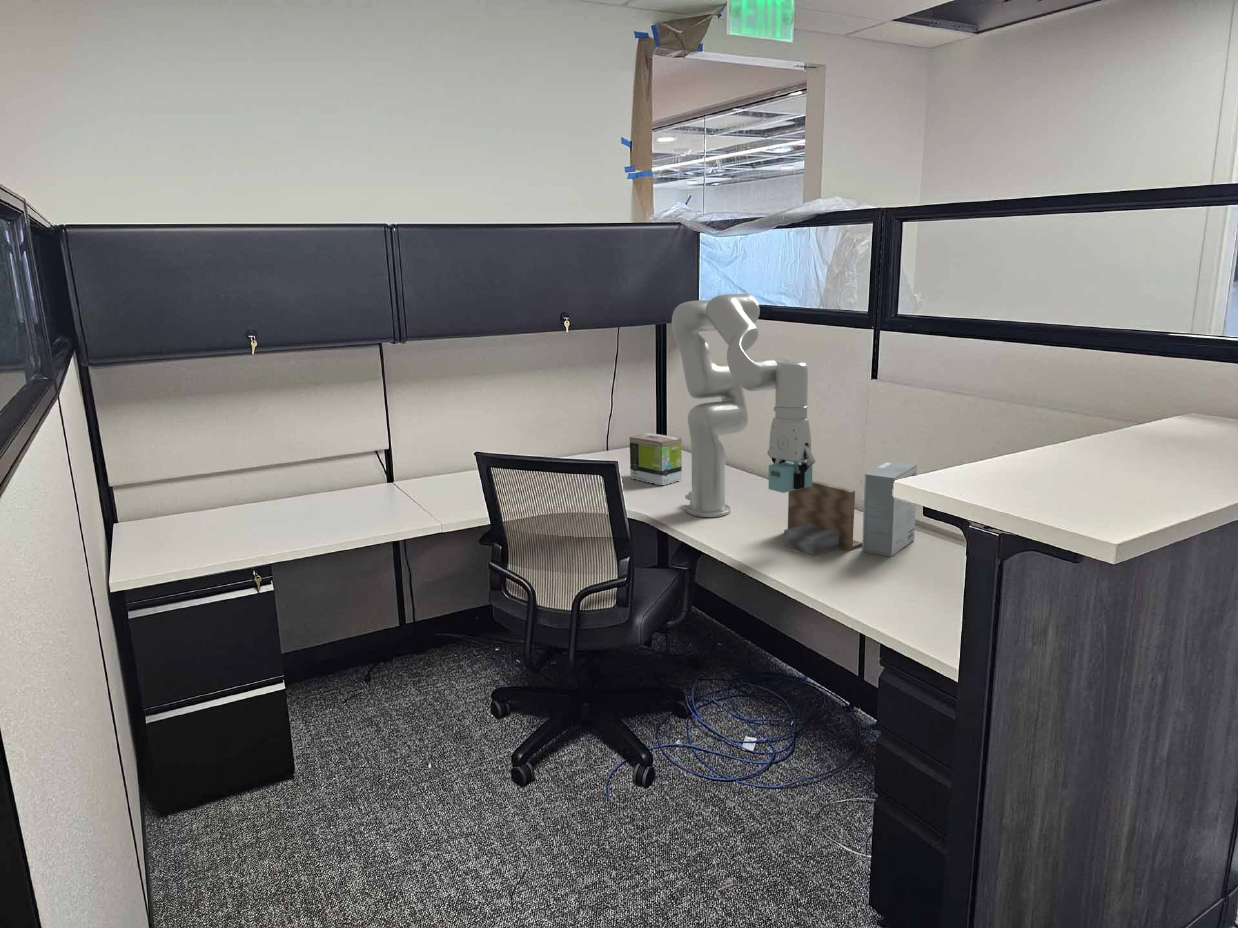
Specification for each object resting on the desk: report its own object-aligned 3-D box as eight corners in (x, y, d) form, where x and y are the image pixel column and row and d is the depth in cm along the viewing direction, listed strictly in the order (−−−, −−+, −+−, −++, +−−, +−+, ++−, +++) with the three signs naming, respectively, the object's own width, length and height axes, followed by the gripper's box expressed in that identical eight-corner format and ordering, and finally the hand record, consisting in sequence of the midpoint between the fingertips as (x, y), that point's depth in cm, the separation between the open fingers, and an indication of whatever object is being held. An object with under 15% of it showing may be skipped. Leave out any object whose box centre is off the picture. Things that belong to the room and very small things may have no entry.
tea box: (682, 481, 271) (682, 437, 268) (661, 487, 265) (661, 442, 261) (650, 473, 282) (649, 431, 279) (629, 479, 275) (628, 436, 272)
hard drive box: (885, 535, 213) (889, 460, 208) (914, 540, 208) (919, 464, 204) (860, 551, 201) (864, 473, 197) (891, 557, 197) (895, 477, 192)
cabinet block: (766, 489, 201) (766, 465, 200) (796, 482, 207) (797, 459, 206) (781, 493, 197) (782, 469, 196) (812, 485, 203) (812, 462, 202)
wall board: (763, 538, 213) (764, 482, 209) (801, 527, 221) (803, 473, 218) (824, 558, 197) (826, 498, 194) (862, 545, 205) (865, 488, 202)
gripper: (754, 411, 203) (754, 482, 207) (807, 419, 189) (806, 495, 193) (776, 407, 207) (776, 477, 211) (829, 415, 193) (827, 490, 197)
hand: (790, 485), depth 202 cm, fingers closed on cabinet block, 5 cm apart
